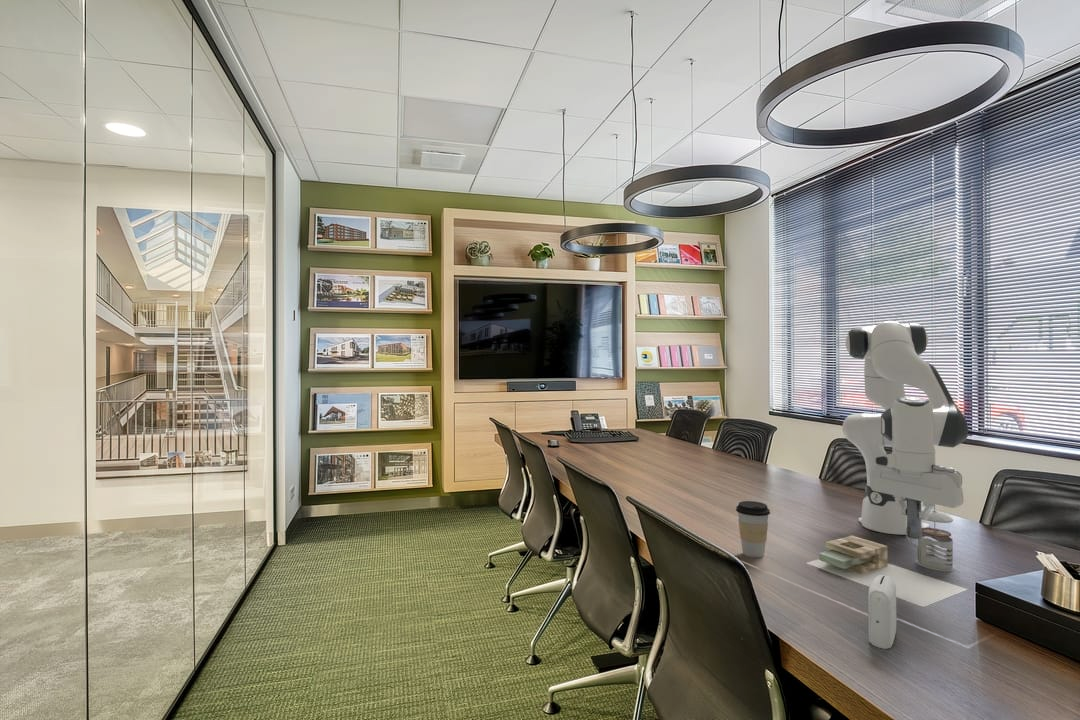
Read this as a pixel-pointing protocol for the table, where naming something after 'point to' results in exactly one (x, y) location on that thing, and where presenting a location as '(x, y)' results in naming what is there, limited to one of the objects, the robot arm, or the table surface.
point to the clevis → (855, 554)
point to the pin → (913, 519)
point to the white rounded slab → (882, 611)
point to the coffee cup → (753, 527)
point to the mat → (900, 582)
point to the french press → (944, 540)
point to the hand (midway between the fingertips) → (914, 516)
